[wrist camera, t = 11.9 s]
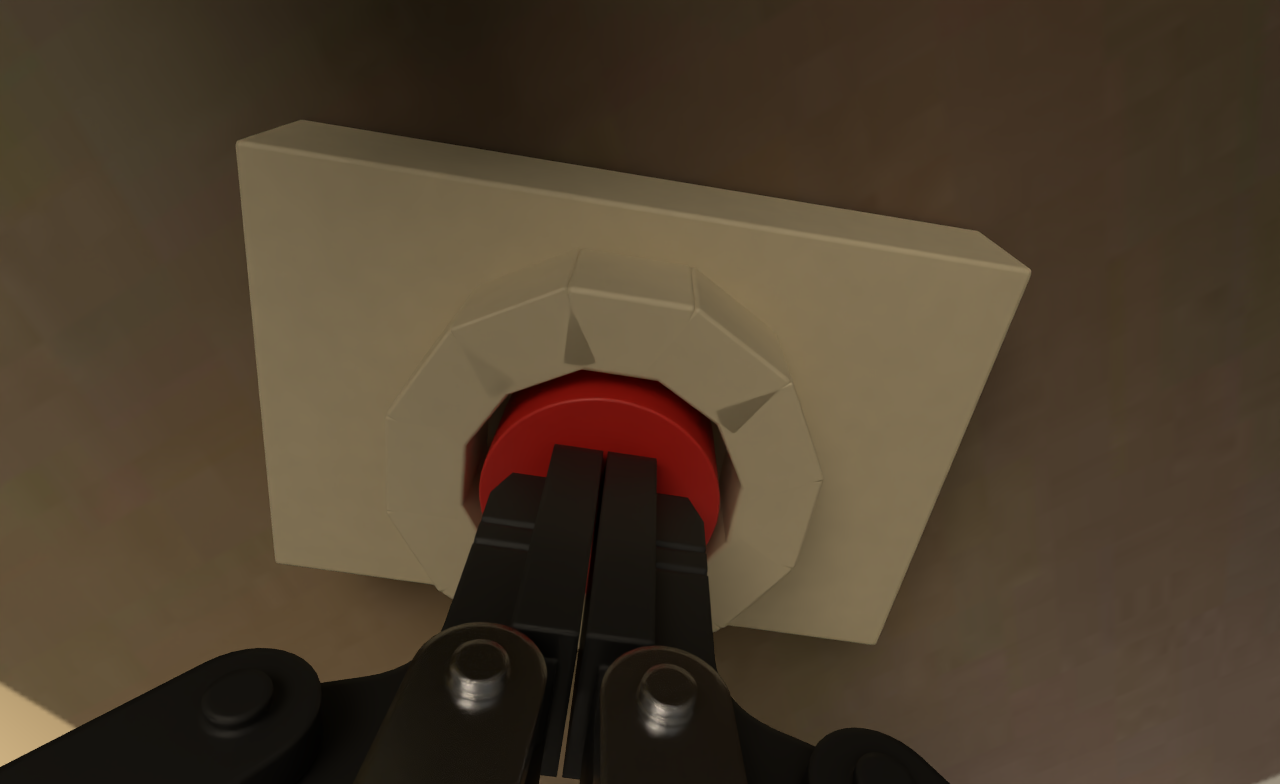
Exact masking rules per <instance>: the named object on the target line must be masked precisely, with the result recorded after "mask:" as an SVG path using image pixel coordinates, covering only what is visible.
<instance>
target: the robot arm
mask: <svg viewBox="0 0 1280 784" xmlns="http://www.w3.org/2000/svg"><path fill="white" fill-rule="evenodd" d="M602 459H603V451H602V450H595V449H588V448H581V447H575V446H568V445H561V444H554V447H553V451H552V456H551V460H550V464H549V468H548V472H547V476H546V477H541V476H534V475H527V474H520V473H514V472H513V473H511V474H510V475H509V476H508V477H507V478H506V479H505V480H503V481H502V482H501V483H500V484H499V485H498V486H496V487H495V488H494V489H493V490H492V491H491V492H490V495H489V497H488V500H487V503H486V506H485V509H484V512H483V515H482V519H481V522H480V523H479V526H478V529H477V532H476V535H475V538H474V543H472V546H471V549H470V552H469V555H468V558H467V560H466V563H465V566H464V569H463V572H462V575H461V578H460V581H459V583H458V586H457V589H456V592H455V595H454V598H453V601H452V603H451V606H450V609H449V612H448V615H447V618H446V621H445V623H444V626H443V628H442V630H441V632H440V633H438V634H437V635H435V636H433V637H432V638H431V639H429V640H428V641H427V642H426V643H425V644H424V645H423V646H422V647H421V648H420V649H419V650H418V652H417V653H416V655H415V657H414V658H413V660H412V661H410V662H408V663H407V664H405V665H402V666H400V667H398V668H396V669H394V670H390V671H387V672H384V673H381V674H376V675H371V676H366V677H359V678H352V679H345V680H338V681H331V682H324V683H320V681H319V678H318V676H317V673H316V672H315V671H314V669H313V668H312V666H311V665H309V664H308V663H307V662H306V661H305V660H304V659H302V658H300V657H298V656H297V655H295V654H292V653H289V652H286V651H283V650H277V649H270V648H255V649H245V650H240V651H235V652H231V653H228V654H225V655H221V656H218V657H216V658H214V659H211V660H209V661H207V662H205V663H203V664H201V665H199V666H197V667H195V668H193V669H191V670H189V671H187V672H185V673H183V674H181V675H179V676H177V677H175V678H173V679H171V680H170V681H168V682H166V683H164V684H162V685H160V686H158V687H156V688H154V689H152V690H150V691H148V692H146V693H144V694H142V695H140V696H138V697H136V698H134V699H132V700H130V701H128V702H127V703H125V704H123V705H121V706H119V707H117V708H115V709H113V710H111V711H109V712H107V713H105V714H103V715H101V716H99V717H97V718H95V719H93V720H91V721H89V722H87V723H85V724H83V725H82V726H80V727H78V728H76V729H74V730H72V731H70V732H68V733H66V734H64V735H62V736H61V737H58V738H56V739H54V740H52V741H50V742H49V743H46V744H44V745H42V746H41V747H39V748H37V749H35V750H33V751H31V752H29V753H27V754H25V755H23V756H21V757H19V758H17V759H15V760H13V761H11V762H9V763H8V764H5V765H3V766H1V767H0V784H539V779H540V775H544V776H552V777H557V771H558V765H559V759H560V752H561V746H562V740H563V734H564V728H565V722H566V716H567V709H568V703H569V697H570V691H571V685H572V679H573V672H574V666H575V660H576V654H577V648H578V642H579V636H580V643H579V651H578V659H577V666H576V674H575V682H574V690H573V697H572V705H571V713H570V721H569V729H568V736H567V744H566V752H565V760H564V767H563V775H562V777H564V778H572V779H580V784H950V783H949V782H948V781H946V780H945V779H944V778H943V777H942V776H941V775H940V774H939V773H938V772H937V771H936V770H935V769H934V768H933V767H931V766H930V765H929V764H928V763H927V762H926V761H925V760H924V759H923V758H922V757H921V756H919V755H918V754H917V753H916V752H915V751H913V750H912V749H911V748H909V747H908V746H906V745H905V744H903V743H902V742H900V741H898V740H896V739H894V738H893V737H891V736H888V735H886V734H883V733H880V732H878V731H874V730H869V729H864V728H845V729H841V730H837V731H834V732H832V733H830V734H828V735H826V736H825V737H824V738H823V739H822V740H820V741H819V743H818V744H817V745H816V747H815V746H813V745H810V744H808V743H806V742H803V741H801V740H799V739H796V738H794V737H792V736H789V735H787V734H785V733H782V732H780V731H778V730H776V729H773V728H771V727H769V726H767V725H765V724H763V723H761V722H760V721H758V720H757V719H755V718H754V717H752V716H751V715H749V714H748V713H747V712H746V711H745V710H743V709H742V708H741V707H740V706H739V705H738V704H737V703H736V702H735V701H734V700H733V699H732V697H731V696H730V692H729V690H728V688H727V686H726V684H725V682H724V681H723V680H722V678H721V677H720V675H719V674H718V672H717V669H716V663H715V654H714V642H713V629H712V617H711V604H710V591H709V579H708V576H707V572H708V566H707V554H706V553H705V552H706V541H705V529H704V521H703V520H702V518H701V517H700V515H699V514H698V512H697V511H696V509H695V508H694V506H693V505H692V503H691V501H690V500H689V498H688V497H681V496H674V495H667V494H660V493H657V459H656V458H651V457H644V456H637V455H630V454H623V453H617V452H610V451H608V453H607V459H606V465H605V471H604V477H603V483H602V490H601V496H600V502H599V508H598V514H597V521H596V527H595V533H594V539H593V546H592V552H591V559H590V551H591V544H592V536H593V528H594V521H595V513H596V505H597V498H598V490H599V482H600V475H601V467H602ZM589 559H590V566H589ZM588 567H589V573H588ZM587 574H588V581H587ZM586 582H587V589H586ZM585 590H586V596H585ZM584 597H585V604H584ZM583 605H584V612H583ZM582 613H583V620H582ZM581 621H582V628H581ZM580 628H581V635H580Z"/></svg>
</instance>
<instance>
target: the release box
mask: <svg viewBox="0 0 1280 784" xmlns="http://www.w3.org/2000/svg"><path fill="white" fill-rule="evenodd" d="M236 154H237V164H238V175H239V185H240V196H241V206H242V217H243V227H244V238H245V248H246V259H247V269H248V280H249V290H250V301H251V311H252V321H253V332H254V342H255V353H256V363H257V374H258V384H259V395H260V405H261V416H262V426H263V437H264V447H265V458H266V468H267V479H268V489H269V500H270V510H271V521H272V531H273V542H274V552H275V561H276V562H277V563H279V564H285V565H293V566H300V567H307V568H315V569H322V570H329V571H336V572H344V573H351V574H358V575H366V576H373V577H380V578H387V579H395V580H402V581H409V582H417V583H424V584H431V585H435V587H436V588H437V590H438V591H442V593H443V594H445V595H446V596H448V597H450V598H452V599H453V598H454V595H455V592H456V589H457V586H458V583H459V581H460V578H461V575H462V572H463V569H464V566H465V563H466V560H467V558H468V555H469V552H470V549H471V546H472V543H474V538H475V535H476V532H477V529H478V526H479V523H480V522H481V519H482V512H481V506H480V500H479V482H480V476H481V471H482V468H483V465H484V462H485V459H486V456H487V454H488V451H489V448H490V446H491V443H492V441H493V438H494V436H495V433H496V431H497V428H498V425H499V423H500V420H501V418H502V415H503V413H504V410H505V407H506V405H507V403H508V401H509V399H510V397H511V395H512V394H513V393H514V392H517V391H520V390H523V389H526V388H529V387H532V386H535V385H538V384H540V383H543V382H546V381H549V380H552V379H555V378H558V377H561V376H564V375H567V374H570V373H573V372H576V371H579V370H582V369H583V370H589V371H596V372H602V373H609V374H615V375H622V376H629V377H635V378H642V379H648V380H655V381H659V382H660V383H661V384H663V385H664V386H665V387H667V388H668V389H669V390H671V391H672V392H674V393H675V394H676V395H678V396H679V397H680V398H682V399H683V400H684V401H686V402H687V403H688V404H690V405H691V406H692V407H694V408H695V409H697V410H698V411H699V412H701V413H702V414H703V415H705V416H706V417H707V418H709V419H710V421H711V424H712V430H713V437H714V446H715V455H716V463H717V472H718V481H719V490H720V510H719V515H718V521H717V524H716V526H715V529H714V532H713V534H712V536H711V538H710V540H709V542H708V544H707V545H706V552H705V553H706V554H707V566H708V572H707V576H708V579H709V591H710V604H711V617H712V629H713V632H716V631H718V630H719V629H720V628H724V627H726V626H727V625H730V626H737V627H745V628H752V629H759V630H766V631H774V632H781V633H788V634H796V635H803V636H810V637H817V638H825V639H832V640H839V641H847V642H854V643H861V644H868V645H875V644H876V643H877V641H878V638H879V636H880V633H881V631H882V629H883V626H884V624H885V621H886V619H887V617H888V614H889V612H890V610H891V607H892V605H893V602H894V600H895V598H896V595H897V593H898V590H899V588H900V586H901V583H902V581H903V579H904V576H905V574H906V571H907V569H908V567H909V564H910V562H911V560H912V557H913V555H914V552H915V550H916V548H917V545H918V543H919V540H920V538H921V536H922V533H923V531H924V529H925V526H926V524H927V521H928V519H929V517H930V514H931V512H932V510H933V507H934V505H935V502H936V500H937V498H938V495H939V493H940V490H941V488H942V486H943V483H944V481H945V479H946V476H947V474H948V471H949V469H950V467H951V464H952V462H953V459H954V457H955V455H956V452H957V450H958V448H959V445H960V443H961V440H962V438H963V436H964V433H965V431H966V429H967V426H968V424H969V421H970V419H971V417H972V414H973V412H974V409H975V407H976V405H977V402H978V400H979V398H980V395H981V393H982V390H983V388H984V386H985V383H986V381H987V379H988V376H989V374H990V371H991V369H992V367H993V364H994V362H995V359H996V357H997V355H998V352H999V350H1000V348H1001V345H1002V343H1003V340H1004V338H1005V336H1006V333H1007V331H1008V328H1009V326H1010V324H1011V321H1012V319H1013V317H1014V314H1015V312H1016V309H1017V307H1018V305H1019V302H1020V300H1021V298H1022V295H1023V293H1024V290H1025V288H1026V286H1027V283H1028V281H1029V278H1030V276H1031V270H1030V269H1029V268H1028V267H1026V266H1025V265H1024V264H1022V263H1021V262H1020V261H1018V260H1017V259H1015V258H1014V257H1013V256H1011V255H1010V254H1009V253H1007V252H1006V251H1005V250H1003V249H1002V248H1000V247H999V246H998V245H996V244H995V243H994V242H992V241H991V240H990V239H988V238H987V237H985V236H984V235H983V234H981V233H980V232H978V231H974V230H968V229H962V228H956V227H950V226H944V225H938V224H932V223H925V222H919V221H913V220H907V219H901V218H895V217H889V216H883V215H877V214H871V213H865V212H859V211H853V210H847V209H841V208H834V207H828V206H822V205H816V204H810V203H804V202H798V201H792V200H786V199H780V198H774V197H768V196H762V195H756V194H750V193H743V192H737V191H731V190H725V189H719V188H713V187H707V186H701V185H695V184H689V183H683V182H677V181H671V180H665V179H659V178H652V177H646V176H640V175H634V174H628V173H622V172H616V171H610V170H604V169H598V168H592V167H586V166H580V165H574V164H567V163H561V162H555V161H549V160H543V159H537V158H531V157H525V156H519V155H513V154H507V153H501V152H495V151H489V150H483V149H476V148H470V147H464V146H458V145H452V144H446V143H440V142H434V141H428V140H422V139H416V138H410V137H404V136H398V135H392V134H385V133H379V132H373V131H367V130H361V129H355V128H349V127H343V126H337V125H331V124H325V123H319V122H313V121H307V120H299V121H296V122H293V123H290V124H287V125H283V126H280V127H277V128H274V129H271V130H268V131H265V132H262V133H259V134H256V135H253V136H250V137H247V138H244V139H241V140H238V141H237V143H236ZM585 596H586V594H585ZM584 604H585V597H584ZM583 612H584V605H583ZM582 620H583V613H582ZM581 628H582V621H581ZM581 628H580V635H581ZM579 643H580V636H579V642H578V648H579Z"/></svg>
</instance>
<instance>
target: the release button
mask: <svg viewBox="0 0 1280 784" xmlns="http://www.w3.org/2000/svg"><path fill="white" fill-rule="evenodd" d="M554 444H561V445H568V446H575V447H581V448H588V449H595V450H602V451H603V459H602V467H601V475H600V482H599V490H598V498H597V505H596V513H595V521H594V528H593V536H592V544H591V551H590V559H591V552H592V546H593V539H594V533H595V527H596V521H597V514H598V508H599V502H600V496H601V490H602V483H603V477H604V471H605V465H606V459H607V453H608V451H610V452H617V453H623V454H630V455H637V456H644V457H651V458H656V459H657V493H660V494H667V495H674V496H681V497H688V498H689V500H690V501H691V503H692V505H693V506H694V508H695V509H696V511H697V512H698V514H699V515H700V517H701V518H702V520H703V521H704V529H705V541H706V545H707V544H708V542H709V540H710V538H711V536H712V534H713V532H714V529H715V526H716V524H717V521H718V515H719V510H720V490H719V481H718V472H717V463H716V455H715V446H714V437H713V430H712V424H711V421H710V419H709V418H707V417H706V416H705V415H703V414H702V413H701V412H699V411H698V410H697V409H695V408H694V407H692V406H691V405H690V404H688V403H687V402H686V401H684V400H683V399H682V398H680V397H679V396H678V395H676V394H675V393H674V392H672V391H671V390H669V389H668V388H667V387H665V386H664V385H663V384H661V383H660V382H659V381H655V380H648V379H642V378H635V377H629V376H622V375H615V374H609V373H602V372H596V371H589V370H583V369H582V370H579V371H576V372H573V373H570V374H567V375H564V376H561V377H558V378H555V379H552V380H549V381H546V382H543V383H540V384H538V385H535V386H532V387H529V388H526V389H523V390H520V391H517V392H514V393H513V394H512V395H511V397H510V399H509V401H508V403H507V405H506V407H505V410H504V413H503V415H502V418H501V420H500V423H499V425H498V428H497V431H496V433H495V436H494V438H493V441H492V443H491V446H490V448H489V451H488V454H487V456H486V459H485V462H484V465H483V468H482V471H481V476H480V482H479V500H480V506H481V512H482V515H483V512H484V509H485V506H486V503H487V500H488V497H489V495H490V492H491V491H492V490H493V489H494V488H495V487H496V486H498V485H499V484H500V483H501V482H502V481H503V480H505V479H506V478H507V477H508V476H509V475H510V474H511V473H513V472H514V473H520V474H527V475H534V476H541V477H546V476H547V472H548V468H549V464H550V460H551V456H552V451H553V447H554ZM590 559H589V566H590ZM588 573H589V567H588ZM587 581H588V574H587ZM586 589H587V582H586ZM585 594H586V590H585Z"/></svg>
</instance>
